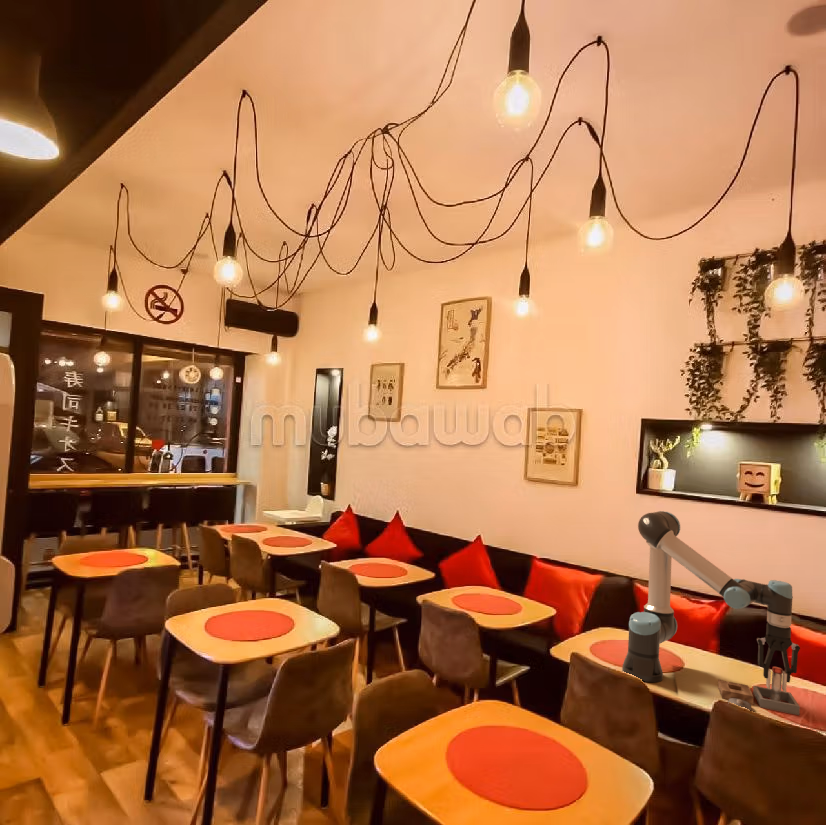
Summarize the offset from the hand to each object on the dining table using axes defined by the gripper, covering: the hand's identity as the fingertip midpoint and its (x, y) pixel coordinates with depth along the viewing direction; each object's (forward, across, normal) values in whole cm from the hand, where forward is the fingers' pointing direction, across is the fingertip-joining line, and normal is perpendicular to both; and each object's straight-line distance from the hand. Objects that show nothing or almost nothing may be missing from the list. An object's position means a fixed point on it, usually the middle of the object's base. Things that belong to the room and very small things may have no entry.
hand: (776, 688), depth 205 cm
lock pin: (+6, 0, 0) cm, 6 cm away
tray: (+6, 0, 0) cm, 6 cm away
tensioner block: (+6, -13, -4) cm, 15 cm away
